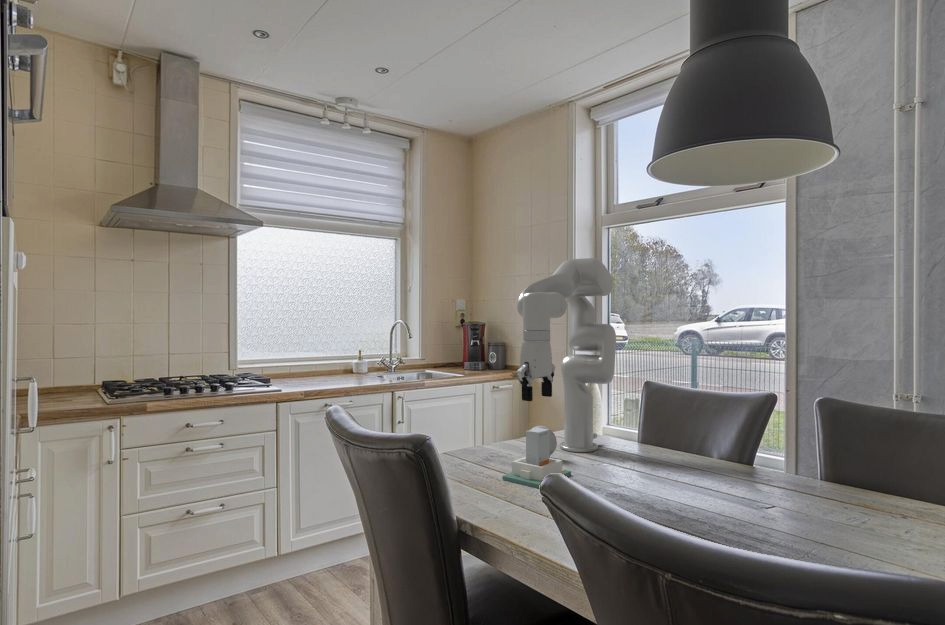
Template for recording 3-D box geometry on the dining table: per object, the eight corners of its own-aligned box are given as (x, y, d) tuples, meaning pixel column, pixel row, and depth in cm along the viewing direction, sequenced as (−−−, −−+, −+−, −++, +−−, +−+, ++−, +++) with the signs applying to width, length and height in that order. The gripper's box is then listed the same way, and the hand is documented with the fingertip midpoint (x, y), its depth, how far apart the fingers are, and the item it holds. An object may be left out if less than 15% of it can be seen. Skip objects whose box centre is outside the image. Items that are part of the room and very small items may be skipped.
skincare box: (538, 477, 148) (538, 432, 149) (525, 474, 151) (525, 430, 151) (550, 472, 153) (550, 429, 153) (537, 469, 156) (537, 427, 156)
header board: (535, 467, 162) (535, 452, 162) (571, 474, 154) (570, 458, 154) (502, 479, 150) (502, 463, 150) (539, 488, 142) (539, 471, 142)
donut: (524, 456, 174) (524, 425, 174) (529, 454, 177) (529, 423, 177) (554, 460, 169) (554, 428, 169) (558, 458, 172) (558, 426, 172)
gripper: (542, 335, 161) (542, 393, 161) (507, 337, 148) (507, 401, 148) (564, 335, 156) (565, 396, 156) (530, 338, 143) (530, 404, 143)
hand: (537, 398), depth 152 cm, fingers open, 9 cm apart
